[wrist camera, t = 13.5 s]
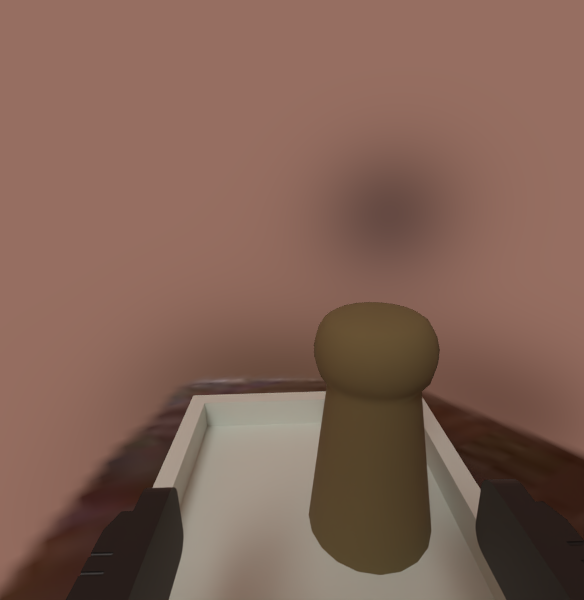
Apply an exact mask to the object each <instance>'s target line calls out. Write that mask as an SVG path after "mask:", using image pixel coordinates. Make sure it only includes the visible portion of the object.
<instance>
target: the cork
mask: <svg viewBox="0 0 584 600" xmlns="http://www.w3.org/2000/svg"><path fill="white" fill-rule="evenodd" d="M439 351H440V349H439V344H438V338H437V336H436V334H435V331H434V329H433V327H432V326H431V324H430V322H429V321H428V319H427V318H425V317H424V316H422V315H421V314H419V313H418V312H416V311H414V310H412V309H409V308H407V307H404V306H400V305H395V304H388V303H378V302H364V303H354V304H349V305H344V306H342V307H339V308H337V309H335V310H333V311H331V312H330V313H328V314H327V315H326V316H325V317H324V319H323V320H322V322H321V323H320V325H319V327H318V330H317V334H316V338H315V343H314V357H315V360H316V364H317V367H318V370H319V372H320V375H321V377H322V378H323V380H324V381H325V382H326V383H327V388H326V395H325V402H324V409H323V416H322V423H321V430H320V437H319V444H318V451H317V458H316V465H315V473H314V480H313V487H312V494H311V501H310V508H309V519H310V524H311V529H312V532H313V534H314V536H315V537H316V539H317V541H318V542H319V544H320V546H321V547H322V548H323V549H324V550H325V551H326V552H327V553H328V554H329V555H330V556H331V557H333V558H334V559H335V560H336V561H337V562H339V563H341V564H343V565H345V566H347V567H349V568H351V569H353V570H355V571H358V572H363V573H370V574H376V575H384V574H390V573H396V572H402V571H403V570H405V569H407V568H408V567H410V566H412V565H414V564H415V563H417V562H418V561H419V560H420V558H421V557H422V556H423V554H424V553H425V551H426V550H427V549H428V546H429V541H430V536H431V517H430V503H429V488H428V474H427V460H426V445H425V431H424V417H423V402H422V391H423V390H424V389H425V388H426V387H427V386H428V385H429V384H430V383H431V380H432V378H433V376H434V373H435V371H436V368H437V365H438V360H439Z"/></svg>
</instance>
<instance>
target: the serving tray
mask: <svg viewBox="0 0 584 600" xmlns="http://www.w3.org/2000/svg"><path fill="white" fill-rule="evenodd" d="M325 395H326V392H293V393H261V394H229V395H196V396H193V398H192V400H191V402H190V405H189V407H188V409H187V411H186V414H185V416H184V418H183V420H182V423H181V425H180V427H179V429H178V432H177V434H176V436H175V438H174V441H173V443H172V445H171V447H170V450H169V452H168V454H167V456H166V459H165V461H164V463H163V465H162V468H161V470H160V472H159V474H158V477H157V479H156V481H155V483H154V486H153V488H165V487H175V488H176V489H177V493H178V499H179V505H180V512H181V519H182V525H183V534H184V539H183V549H182V555H181V559H180V563H179V566H178V570H177V573H176V577H175V580H174V583H173V587H172V590H171V594H170V597H169V600H506V598H505V596H504V594H503V592H502V590H501V588H500V587H499V585H498V583H497V581H496V579H495V577H494V575H493V573H492V571H491V569H490V567H489V565H488V564H487V562H486V560H485V558H484V556H483V554H482V552H481V550H480V547H479V544H478V541H477V536H476V529H475V524H476V517H477V511H478V505H479V498H480V492H481V490H480V488H479V486H478V485H477V483H476V482H475V480H474V479H473V477H472V475H471V474H470V472H469V471H468V469H467V467H466V466H465V464H464V463H463V461H462V459H461V458H460V456H459V455H458V453H457V452H456V450H455V448H454V447H453V445H452V444H451V442H450V440H449V439H448V437H447V436H446V434H445V433H444V431H443V429H442V428H441V426H440V425H439V423H438V421H437V420H436V418H435V417H434V415H433V414H432V412H431V410H430V409H429V407H428V406H427V404H426V402H425V401H424V399H423V398H422V402H423V417H424V431H425V445H426V460H427V474H428V488H429V503H430V517H431V536H430V541H429V546H428V549H427V550H426V551H425V553H424V554H423V556H422V557H421V558H420V560H419V561H418V562H417V563H415V564H414V565H412V566H410V567H408V568H407V569H405V570H403V571H402V572H396V573H390V574H384V575H376V574H370V573H363V572H358V571H355V570H353V569H351V568H349V567H347V566H345V565H343V564H341V563H339V562H337V561H336V560H335V559H334V558H333V557H331V556H330V555H329V554H328V553H327V552H326V551H325V550H324V549H323V548H322V547H321V546H320V544H319V542H318V541H317V539H316V537H315V536H314V534H313V532H312V529H311V524H310V519H309V508H310V501H311V494H312V487H313V480H314V473H315V465H316V458H317V451H318V444H319V437H320V430H321V423H322V416H323V409H324V402H325Z"/></svg>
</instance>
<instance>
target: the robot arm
mask: <svg viewBox="0 0 584 600" xmlns="http://www.w3.org/2000/svg"><path fill="white" fill-rule="evenodd" d="M475 529H476V536H477V541H478V544H479V547H480V550H481V552H482V554H483V556H484V558H485V560H486V562H487V564H488V565H489V567H490V569H491V571H492V573H493V575H494V577H495V579H496V581H497V583H498V585H499V587H500V588H501V590H502V592H503V594H504V596H505V598H506V600H584V540H583V539H582V537H581V536H580V535H579V534H578V533H577V531H576V530H575V529H574V528H573V526H572V525H571V524H570V523H569V522H568V520H567V519H566V518H564V517H563V516H562V515H560V514H559V513H558V512H556V511H555V510H554V509H553V508H551V507H550V506H549V505H547V504H546V503H545V502H543V501H540V502H535V501H534V499H533V498H532V497H531V496H530V494H529V493H528V492H527V490H526V489H525V488H524V486H523V485H522V484H521V483H520V482H519V481H517V480H515V479H500V480H484V481H483V483H482V486H481V492H480V498H479V505H478V511H477V517H476V524H475ZM183 539H184V534H183V525H182V519H181V512H180V505H179V499H178V493H177V489H176V488H175V487H165V488H146V489H144V491H143V492H142V494H141V496H140V498H139V500H138V502H137V504H136V506H135V508H134V510H133V511H124V512H121V513H120V514H119V515H118V516H117V517H116V518H115V519H114V520H113V521H112V522H111V523H110V524H109V525H108V526H107V527H106V528H105V529H104V530H103V532H102V534H101V535H100V537H99V539H98V541H97V543H96V545H95V547H94V548H93V550H92V552H91V557H89V558H88V560H87V561H86V563H85V565H84V567H83V569H82V571H81V575H80V576H78V578H77V580H76V582H75V584H74V586H73V587H72V589H71V591H70V593H69V595H68V597H67V598H66V600H169V597H170V594H171V590H172V587H173V583H174V580H175V577H176V573H177V570H178V566H179V563H180V559H181V555H182V549H183Z"/></svg>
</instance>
